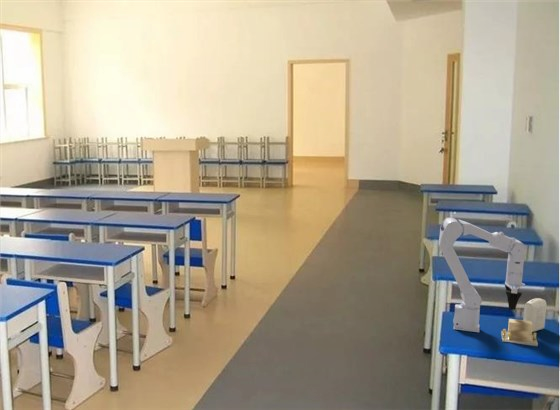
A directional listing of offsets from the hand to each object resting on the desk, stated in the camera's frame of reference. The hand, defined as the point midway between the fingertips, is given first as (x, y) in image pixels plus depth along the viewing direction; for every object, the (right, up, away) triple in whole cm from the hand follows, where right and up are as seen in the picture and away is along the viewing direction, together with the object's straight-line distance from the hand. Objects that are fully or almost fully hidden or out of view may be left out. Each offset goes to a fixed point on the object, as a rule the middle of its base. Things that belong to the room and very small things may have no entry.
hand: (511, 306), depth 225 cm
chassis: (0, -11, -7) cm, 13 cm away
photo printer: (+10, -10, +4) cm, 14 cm away
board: (0, -10, -7) cm, 13 cm away
